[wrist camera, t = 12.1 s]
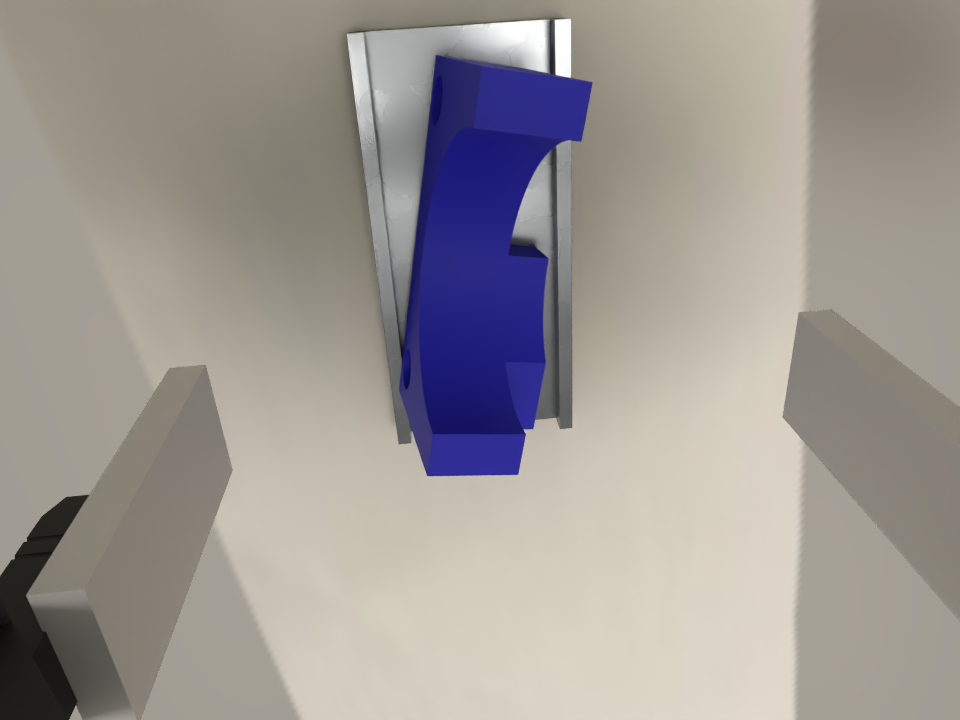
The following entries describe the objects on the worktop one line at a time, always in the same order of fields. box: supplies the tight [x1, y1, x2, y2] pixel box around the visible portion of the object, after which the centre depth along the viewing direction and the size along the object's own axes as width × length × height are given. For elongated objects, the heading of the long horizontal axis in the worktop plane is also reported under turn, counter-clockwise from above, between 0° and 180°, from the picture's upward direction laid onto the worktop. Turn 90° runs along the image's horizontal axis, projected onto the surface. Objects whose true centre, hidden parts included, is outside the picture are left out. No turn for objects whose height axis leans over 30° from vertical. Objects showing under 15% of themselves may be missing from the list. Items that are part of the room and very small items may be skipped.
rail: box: [347, 18, 572, 444], centre depth 27 cm, size 15×7×1 cm, turn 3°
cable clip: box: [399, 55, 592, 476], centre depth 24 cm, size 12×4×6 cm, turn 172°
